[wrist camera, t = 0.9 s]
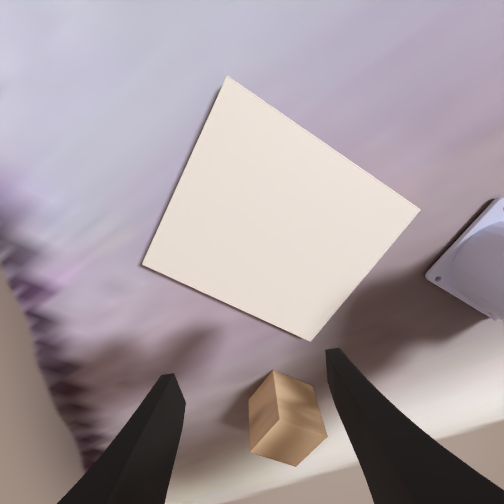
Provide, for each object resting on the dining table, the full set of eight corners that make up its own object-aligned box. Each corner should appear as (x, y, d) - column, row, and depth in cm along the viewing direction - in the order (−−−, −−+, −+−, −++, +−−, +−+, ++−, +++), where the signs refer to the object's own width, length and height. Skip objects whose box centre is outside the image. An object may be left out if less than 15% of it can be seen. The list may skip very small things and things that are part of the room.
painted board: (411, 206, 18) (420, 209, 17) (307, 334, 23) (310, 341, 22) (228, 80, 15) (226, 75, 14) (146, 259, 19) (141, 264, 18)
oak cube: (312, 385, 25) (327, 436, 21) (286, 413, 27) (295, 466, 22) (272, 369, 24) (279, 419, 20) (248, 399, 26) (249, 452, 21)
